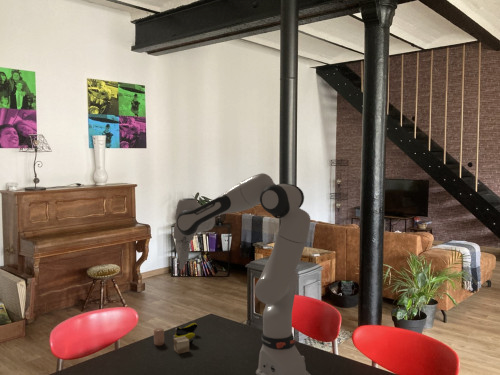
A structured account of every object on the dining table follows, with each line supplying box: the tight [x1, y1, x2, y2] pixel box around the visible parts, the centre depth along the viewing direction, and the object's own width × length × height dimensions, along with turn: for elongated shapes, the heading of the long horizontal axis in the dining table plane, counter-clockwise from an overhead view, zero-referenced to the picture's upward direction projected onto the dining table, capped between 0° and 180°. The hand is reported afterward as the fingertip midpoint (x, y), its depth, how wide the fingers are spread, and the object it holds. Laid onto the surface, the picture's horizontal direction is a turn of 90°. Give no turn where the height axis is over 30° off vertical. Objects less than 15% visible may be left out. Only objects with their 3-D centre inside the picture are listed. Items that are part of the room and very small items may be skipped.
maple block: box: [173, 336, 190, 355], centre depth 196 cm, size 5×5×5 cm
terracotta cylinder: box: [153, 327, 165, 347], centre depth 203 cm, size 4×4×6 cm
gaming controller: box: [172, 322, 198, 343], centre depth 207 cm, size 15×6×10 cm
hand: (180, 265), depth 200 cm, fingers open, 8 cm apart
